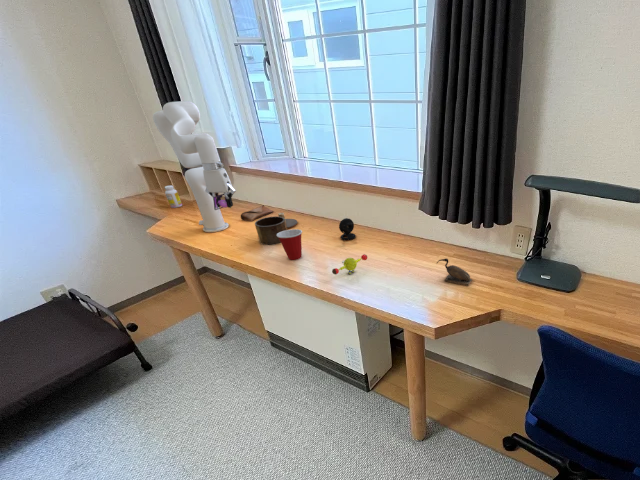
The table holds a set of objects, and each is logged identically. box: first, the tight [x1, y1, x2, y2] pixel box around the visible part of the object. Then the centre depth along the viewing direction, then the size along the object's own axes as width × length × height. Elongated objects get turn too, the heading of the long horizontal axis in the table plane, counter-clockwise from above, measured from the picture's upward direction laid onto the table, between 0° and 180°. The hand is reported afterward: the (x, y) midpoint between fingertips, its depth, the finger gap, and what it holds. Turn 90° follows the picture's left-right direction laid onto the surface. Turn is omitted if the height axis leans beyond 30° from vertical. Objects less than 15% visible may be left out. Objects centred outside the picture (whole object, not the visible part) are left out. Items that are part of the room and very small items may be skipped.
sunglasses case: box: [240, 204, 275, 222], centre depth 210 cm, size 18×7×7 cm
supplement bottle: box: [164, 184, 183, 209], centre depth 228 cm, size 7×7×13 cm
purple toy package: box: [213, 193, 233, 210], centre depth 167 cm, size 7×5×9 cm
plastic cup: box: [276, 228, 303, 261], centre depth 159 cm, size 11×11×12 cm
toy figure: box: [331, 253, 368, 275], centre depth 146 cm, size 18×6×7 cm, turn 141°
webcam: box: [338, 217, 357, 241], centre depth 177 cm, size 8×8×10 cm
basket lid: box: [277, 212, 299, 229], centre depth 195 cm, size 15×15×7 cm
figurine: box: [436, 258, 473, 287], centre depth 138 cm, size 14×4×9 cm, turn 66°
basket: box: [254, 215, 288, 246], centre depth 178 cm, size 14×14×10 cm
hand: (225, 206), depth 169 cm, fingers closed on purple toy package, 4 cm apart
